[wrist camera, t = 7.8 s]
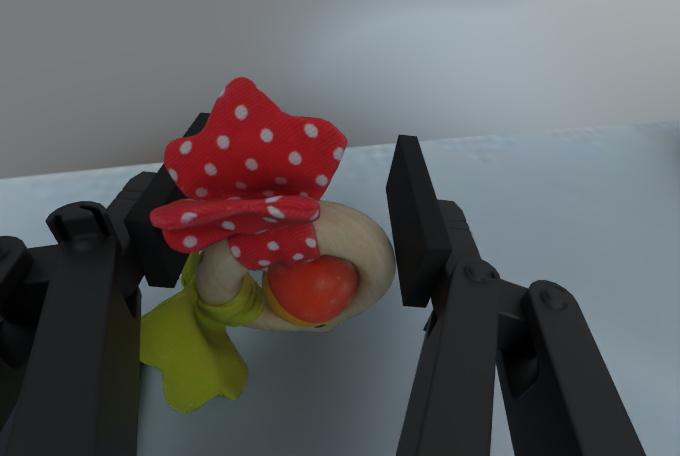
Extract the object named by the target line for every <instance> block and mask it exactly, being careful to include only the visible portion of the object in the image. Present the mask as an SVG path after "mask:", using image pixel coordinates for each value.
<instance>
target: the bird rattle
mask: <svg viewBox="0 0 680 456" xmlns="http://www.w3.org/2000/svg"><path fill="white" fill-rule="evenodd" d="M346 146H347V139H346V137H345V136H344V135H343V134H342V133H341V132H340V131H339V130H338V129H337V128H336V127H335V126H334V125H332V124H331V123H330V122H328V121H326V120H323V119H321V118H311V117H295V116H290V115H289V114H286V113H285V112H284V111H282V110H281V109H280V108H279V107H278V106H276V104H274V103H273V102H272V101H271V100H270V99H269V98H268V97H267V96H266V95H265V94H264V93H263V92H262V91H261V90H260V89H259V88H258V87H257V86H256V85H255V84H254V83H253V82H252V81H251V80H249V79H247V78H244V77H239V78H236V79H234V80H233V81H231V82H230V83H229V84H228V85H227V86H226V87H225V88H224V89H223V90H222V92H221V93H220V95H219V97H218V99H217V101H216V103H215V105H214V107H213V109H212V112H211V114H210V116H209V118H208V121H207V123H206V125H205V127H204V128H203V130H202V131H201V132H200V133H198V134H197V135H194V136H190V137H184V138H179V139H176V140H174V141H172V142H170V143H169V144H168V146H167V147H166V150H165V155H164V165H165V167H166V169H167V171H168V172H169V174H170V176H171V177H172V179H173V180H174V182H175V183H176V185H177V186H178V187H179V189H180V190H181V191H182V192H183V193H184V195H186V196H187V197H188V198H189V199H180V200H177V201H174V202H172V203H170V204H168V205H164V206H161V207H158V208H156V209H155V210H153V211H152V212H151V214H150V220H151V223H152V225H153V226H155V227H158V228H161V229H162V232H163V235H164V239H165V240H166V242H167V244H168V245H169V246H170V247H171V248H172V249H174V250H176V251H178V252H182V253H190V254H189V257H188V259H187V261H186V263H185V265H184V268H183V270H182V272H181V273H182V277H181V284H182V286H183V287H184V289H183V290H182V291H181V292H179V293H177V294H176V295H174V296H172V297H170V298H169V299H167V300H165V301H164V302H162V303H161V304H159V305H158V306H157V307H155V308H154V309H153V310H152V311H150V312H149V313H147V314H146V315H144V316H142V317H141V329H140V361H141V362H143V363H144V364H146V365H149V366H153V367H155V368H157V369H159V370H160V371H161V372H162V379H163V391H164V395H165V398H166V400H167V402H168V404H169V405H170V406H171V407H172V408H174V409H176V410H178V411H180V412H183V413H189V412H192V411H195V410H197V409H198V408H200V407H201V406H202V405H204V404H205V403H206V402H207V401H208V400H210V399H212V398H214V397H216V396H218V395H220V394H222V395H223V396H225V397H226V398H228V399H230V400H235V399H237V398H238V397H239V396H240V395H241V394H242V392H243V390H244V387H245V384H246V381H247V375H248V369H247V366H246V364H245V363H244V361H243V359H242V358H241V356H240V355H239V353H238V351H237V350H236V348H235V346H234V345H233V344H232V342H231V341H230V339H229V336H228V335H227V333H226V325H227V326H232V327H236V326H240V325H243V326H246V327H250V328H255V329H261V330H270V331H291V332H293V331H314V332H318V333H328V332H330V331H332V330H333V328H334V327H335V326H336V325H337V324H339V323H341V322H343V321H346V320H348V319H351V318H353V317H355V316H357V315H359V314H361V313H362V312H364V311H365V310H367V309H368V308H370V307H371V306H372V305H373V304H375V303H376V302H377V301H378V300H379V299H380V298H381V297H382V296H383V295H384V294H385V293H386V292H387V290H388V289H389V287H390V285H391V283H392V281H393V279H394V276H395V270H396V262H395V256H394V251H393V248H392V245H391V242H390V240H389V238H388V237H387V235H386V233H385V232H384V230H383V229H382V228H381V227H380V226H379V225H378V224H377V223H376V222H375V221H374V220H372V219H371V218H370V217H368V216H367V215H365V214H363V213H362V212H360V211H358V210H355V209H353V208H351V207H348V206H345V205H342V204H339V203H334V202H328V201H321V200H320V198H321V197H322V195H323V194H324V192H325V191H326V189H327V187H328V186H329V184H330V181H331V179H332V177H333V175H334V173H335V171H336V170H337V168H338V166H339V163H340V161H341V158H342V156H343V153H344V150H345V148H346ZM200 250H202V251H201V253H200V254H199V251H200ZM249 270H252V271H256V270H263V276H262V286H263V288H262V287H260V286H259V285H258V284H257V282H256V281H255V280H254V279H253V278H252V276H251V275H250V274H249V273H248V271H249Z"/></svg>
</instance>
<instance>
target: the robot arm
mask: <svg viewBox="0 0 680 456" xmlns="http://www.w3.org/2000/svg"><path fill="white" fill-rule="evenodd" d="M209 116H210V114H209V113H200V114H199V115H198V117H197V118H196V119H195V121H194V122H193V124H192V125H191V127H190V128H189V129H188V131H187V132H186V133H185V135H184V136H183V137H182V138H184V137H190V136H194V135H197V134H198V133H200V132H201V131H202V130H203V128H204V127H205V125H206V123H207V121H208V118H209ZM386 194H387V200H388V207H389V214H390V221H391V228H392V234H393V241H394V248H395V255H396V262H397V268H398V275H399V282H400V289H401V295H402V302H403V306H410V307H423V308H426V306H427V304H428V302H429V300H430V298H431V300H432V305H433V311H432V313H431V315H430V317H429V319H428V321H427V323H426V325H425V327H424V329H423V330H424V331H426V333H425V337H424V341H423V346H422V350H421V354H420V358H419V362H418V366H417V370H416V374H415V378H414V382H413V386H412V391H411V395H410V399H409V403H408V407H407V411H406V415H405V419H404V423H403V427H402V431H401V436H400V440H399V444H398V448H397V452H396V456H490V446H491V430H492V414H493V397H494V381H495V365H496V366H497V371H498V376H499V381H500V386H501V391H502V395H503V400H504V405H505V410H506V415H507V420H508V425H509V430H510V435H511V440H512V445H513V450H514V455H515V456H646V454H645V452H644V450H643V447H642V445H641V443H640V441H639V439H638V436H637V434H636V432H635V430H634V427H633V425H632V423H631V421H630V418H629V416H628V414H627V412H626V410H625V407H624V405H623V403H622V401H621V398H620V396H619V394H618V392H617V389H616V387H615V385H614V383H613V381H612V378H611V376H610V374H609V372H608V369H607V367H606V365H605V363H604V361H603V358H602V356H601V354H600V352H599V349H598V347H597V345H596V343H595V340H594V338H593V336H592V334H591V332H590V329H589V327H588V325H587V323H586V320H585V318H584V316H583V314H582V311H581V309H580V307H579V305H578V303H577V301H576V300H575V298H574V297H573V295H572V294H571V293H569V292H568V291H567V290H566V289H565V288H563V287H561V286H560V285H558V284H556V283H553V282H550V281H547V280H538V281H535V282H533V283H532V284H531V285H530V287H529V288H525V287H522V286H519V285H516V284H513V283H510V282H507V281H505V280H502V279H500V276H499V274H498V272H497V271H496V269H495V268H494V267H493V266H491V265H490V264H489V263H488V262H486V261H484V260H482V259H481V257H480V254H479V252H478V249H477V247H476V244H475V242H474V239H473V237H472V234H471V231H469V226H468V224H467V223H466V219H465V216H464V214H463V211H462V210H461V209H460V208H459V207H458V206H457V204H456V203H455V202H454V201H447V200H437V198H436V195H435V192H434V189H433V186H432V182H431V179H430V176H429V173H428V170H427V167H426V164H425V161H424V157H423V154H422V151H421V148H420V145H419V142H418V139H417V136H407V135H399V136H398V140H397V144H396V148H395V152H394V156H393V160H392V165H391V169H390V173H389V177H388V181H387V185H386ZM180 199H189V198H188V197H187V196H186V195H184V193H183V192H182V191H181V190H180V189H179V187H178V186H177V185H176V183H175V182H174V180H173V179H172V177H171V176H170V174H169V172H168V171H167V169H166V167H165V165H164V164H163V165H162V167H161V168H160V169H159V171H158V172H157V173H154V172H144V171H143V172H141V173H140V174H138V175H137V176H135V177H133V178H132V179H130V180H129V181H128V183H127V184H126V185H125V186H124V188H123V191H120V193H119V194H118V195H117V196H116V199H114V200H113V201H112V203H111V204H110V205H109V206H108V208H107V209H106V208H105V207H104V206H103V205H101V204H100V203H96V202H92V201H80V202H75V203H71V204H67V205H65V206H63V207H60V208H58V209H57V210H55V211H54V212H52V213H51V214H50V215H49V216H48V218H47V219H46V221H45V222H46V223H47V225H48V227H49V228H50V230H51V232H52V234H53V235H54V237H55V239H56V240H57V242H58V244H57V245H50V246H43V247H35V248H28V249H27V247H26V246H25V244H24V243H23V241H22V240H20V239H18V238H17V237H12V236H0V433H1V431H2V429H3V427H4V426H5V424H6V422H7V420H8V418H9V416H10V414H11V412H12V410H13V409H14V407H15V405H16V403H17V401H18V403H17V406H16V410H15V414H14V418H13V421H12V425H11V429H10V433H9V437H8V440H7V444H6V448H5V452H4V456H136V455H137V424H138V392H139V361H140V329H141V298H142V295H141V291H140V288H139V286H138V285H139V284H140V282H141V280H142V278H143V276H144V275H145V277H146V280H147V282H148V285H149V286H152V287H164V288H174V287H175V285H176V283H177V281H178V279H179V276H180V274H181V272H182V270H183V268H184V265H185V263H186V261H187V259H188V257H189V254H190V253H182V252H178V251H176V250H174V249H172V248H171V247H170V246H169V245H168V244H167V242H166V240H165V239H164V235H163V232H162V229H161V228H158V227H155V226H153V225H152V223H151V220H150V214H151V212H152V211H153V210H155V209H156V208H158V207H161V206H164V205H168V204H170V203H172V202H174V201H177V200H180Z"/></svg>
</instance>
